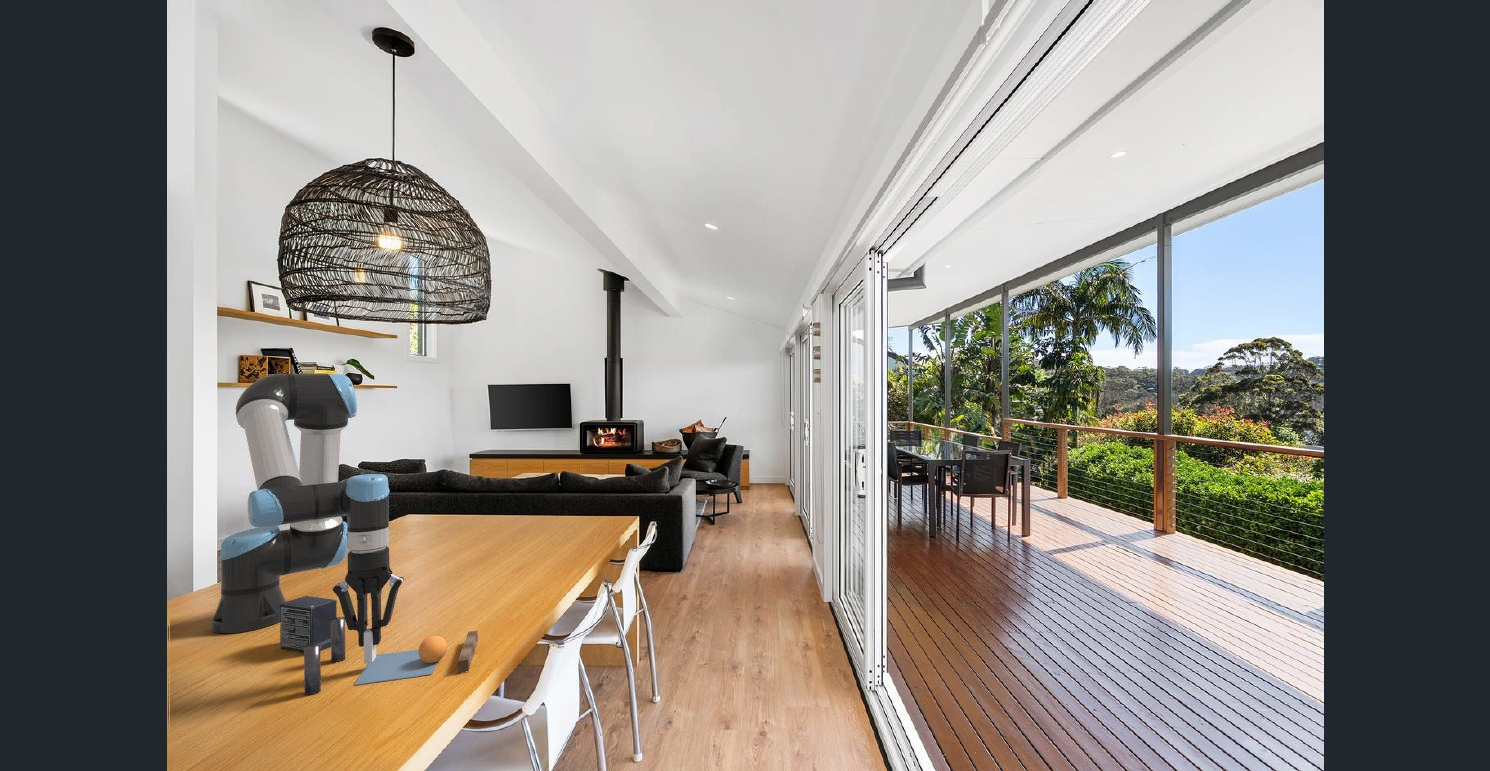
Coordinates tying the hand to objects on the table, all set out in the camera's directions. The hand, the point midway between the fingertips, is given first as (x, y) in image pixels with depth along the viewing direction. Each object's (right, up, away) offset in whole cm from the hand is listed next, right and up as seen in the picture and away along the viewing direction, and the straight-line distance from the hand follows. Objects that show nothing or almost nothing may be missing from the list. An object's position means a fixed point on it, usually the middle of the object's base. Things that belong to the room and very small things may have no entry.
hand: (370, 660), depth 128 cm
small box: (-22, -3, +12) cm, 25 cm away
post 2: (-10, -2, +5) cm, 11 cm away
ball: (+12, +1, +3) cm, 12 cm away
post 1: (-5, -2, -9) cm, 11 cm away
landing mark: (+6, -2, +2) cm, 6 cm away
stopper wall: (+18, -2, +6) cm, 19 cm away
